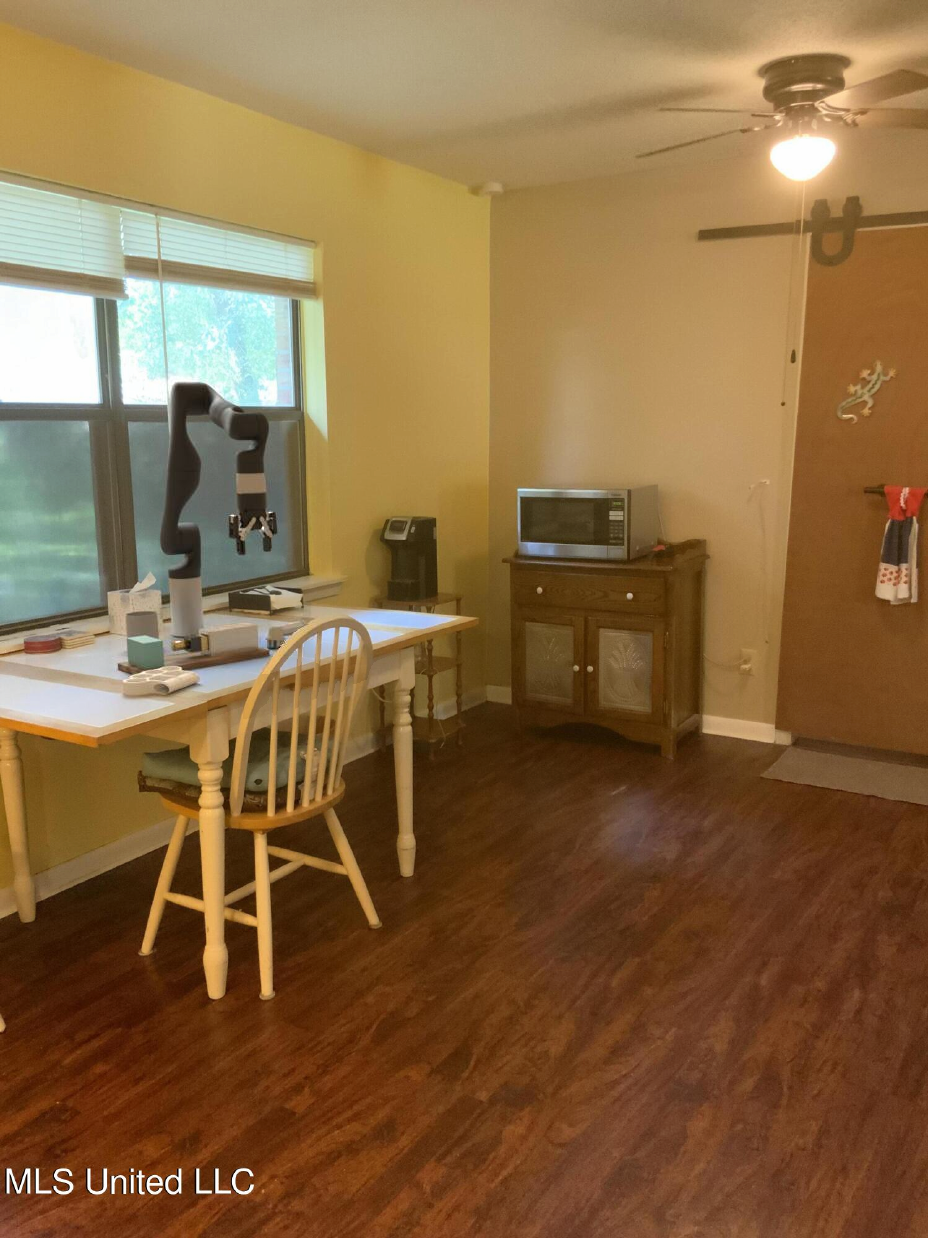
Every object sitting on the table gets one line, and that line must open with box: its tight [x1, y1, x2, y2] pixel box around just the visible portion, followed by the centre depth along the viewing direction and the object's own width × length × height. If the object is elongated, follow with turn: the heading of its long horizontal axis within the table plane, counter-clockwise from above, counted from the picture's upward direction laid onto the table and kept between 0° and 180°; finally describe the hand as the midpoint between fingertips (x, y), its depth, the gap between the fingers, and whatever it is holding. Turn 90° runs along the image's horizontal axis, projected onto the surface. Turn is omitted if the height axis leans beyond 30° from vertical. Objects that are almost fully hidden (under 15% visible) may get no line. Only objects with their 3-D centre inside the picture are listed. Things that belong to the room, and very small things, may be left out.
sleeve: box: [199, 621, 260, 656], centre depth 274 cm, size 6×14×6 cm, turn 131°
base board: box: [117, 646, 271, 675], centre depth 269 cm, size 14×36×2 cm, turn 131°
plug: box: [170, 634, 209, 653], centre depth 271 cm, size 4×22×4 cm, turn 131°
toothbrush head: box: [265, 619, 309, 648], centre depth 296 cm, size 5×7×25 cm
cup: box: [125, 610, 160, 640], centre depth 287 cm, size 8×8×10 cm
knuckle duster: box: [122, 666, 201, 697], centre depth 242 cm, size 3×18×15 cm
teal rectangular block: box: [126, 635, 165, 669], centre depth 259 cm, size 10×5×6 cm, turn 41°
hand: (254, 553), depth 270 cm, fingers open, 8 cm apart
